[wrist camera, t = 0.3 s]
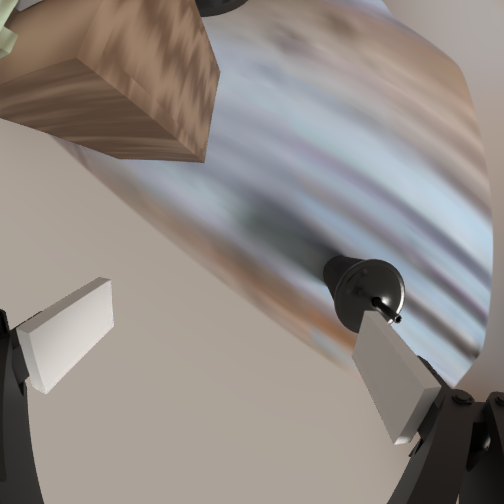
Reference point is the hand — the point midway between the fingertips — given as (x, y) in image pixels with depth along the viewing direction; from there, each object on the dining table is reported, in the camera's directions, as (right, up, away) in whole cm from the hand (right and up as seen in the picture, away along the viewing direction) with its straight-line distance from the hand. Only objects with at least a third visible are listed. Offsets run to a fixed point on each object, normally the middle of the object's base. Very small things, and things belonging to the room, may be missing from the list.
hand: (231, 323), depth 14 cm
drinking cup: (+13, 0, +26) cm, 29 cm away
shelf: (-12, +24, +25) cm, 37 cm away
